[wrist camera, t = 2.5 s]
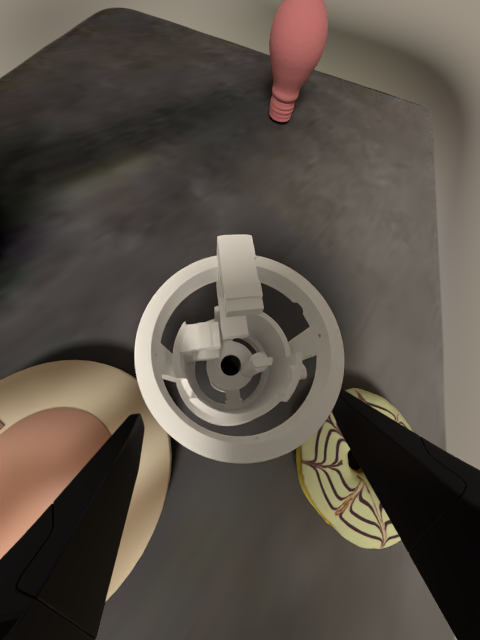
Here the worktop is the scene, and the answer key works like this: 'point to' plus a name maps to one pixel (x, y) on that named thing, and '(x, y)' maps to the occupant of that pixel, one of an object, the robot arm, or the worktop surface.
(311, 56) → the light bulb
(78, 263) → the worktop surface
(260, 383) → the strainer
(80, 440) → the turntable
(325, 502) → the decorated donut
